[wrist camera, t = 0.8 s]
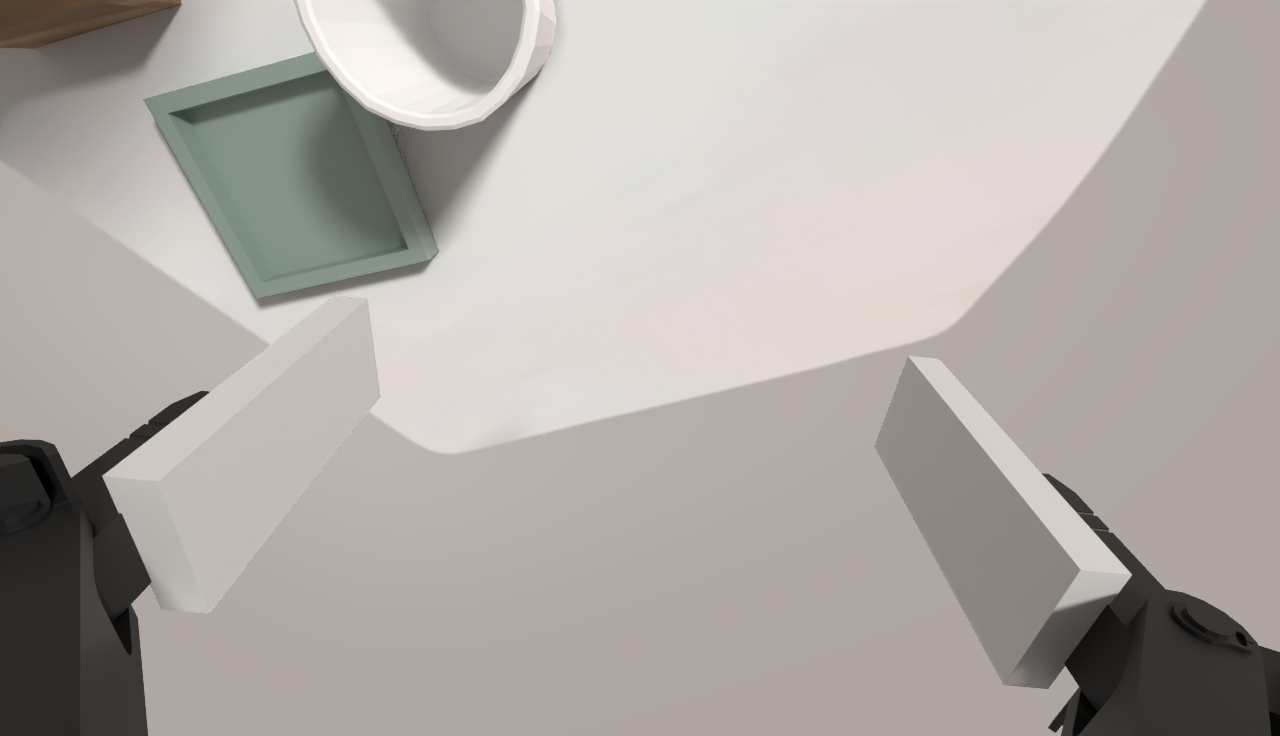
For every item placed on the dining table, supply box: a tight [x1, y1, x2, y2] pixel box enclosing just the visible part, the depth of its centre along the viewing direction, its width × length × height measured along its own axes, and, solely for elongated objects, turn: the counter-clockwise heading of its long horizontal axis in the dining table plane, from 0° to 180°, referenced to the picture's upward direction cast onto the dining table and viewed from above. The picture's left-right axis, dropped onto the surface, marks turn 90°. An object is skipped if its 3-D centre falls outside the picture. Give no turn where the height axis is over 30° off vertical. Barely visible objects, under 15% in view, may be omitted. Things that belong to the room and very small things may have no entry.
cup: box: [294, 0, 557, 131], centre depth 29 cm, size 10×10×13 cm
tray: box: [143, 52, 439, 299], centre depth 38 cm, size 13×13×2 cm
